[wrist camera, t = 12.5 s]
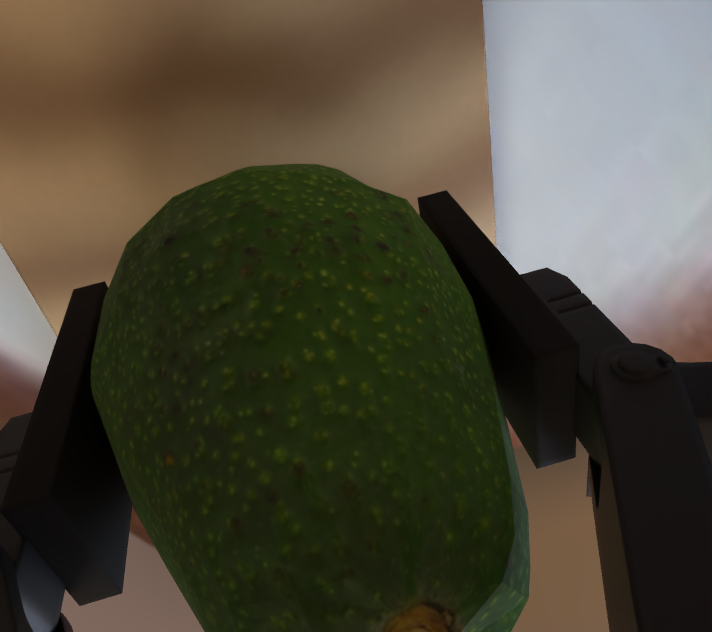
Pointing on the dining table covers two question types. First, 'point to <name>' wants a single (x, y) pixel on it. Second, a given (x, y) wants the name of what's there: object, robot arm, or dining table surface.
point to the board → (223, 113)
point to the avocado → (311, 412)
